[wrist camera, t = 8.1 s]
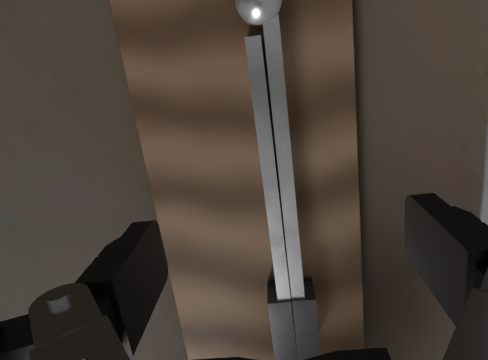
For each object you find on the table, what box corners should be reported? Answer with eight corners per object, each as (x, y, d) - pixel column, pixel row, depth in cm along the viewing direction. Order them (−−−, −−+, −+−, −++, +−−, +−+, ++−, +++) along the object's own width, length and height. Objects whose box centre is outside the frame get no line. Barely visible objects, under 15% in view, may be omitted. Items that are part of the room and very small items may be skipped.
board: (110, -33, 26) (101, -39, 24) (344, -73, 24) (349, -81, 23) (193, 357, 36) (190, 369, 34) (361, 348, 34) (365, 360, 33)
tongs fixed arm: (235, -15, 24) (231, -25, 21) (286, -23, 24) (288, -34, 21) (278, 338, 33) (279, 365, 30) (316, 336, 32) (321, 362, 30)
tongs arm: (235, 41, 25) (231, 39, 22) (261, 37, 25) (260, 34, 22) (275, 339, 33) (275, 366, 30) (295, 338, 32) (298, 365, 30)
